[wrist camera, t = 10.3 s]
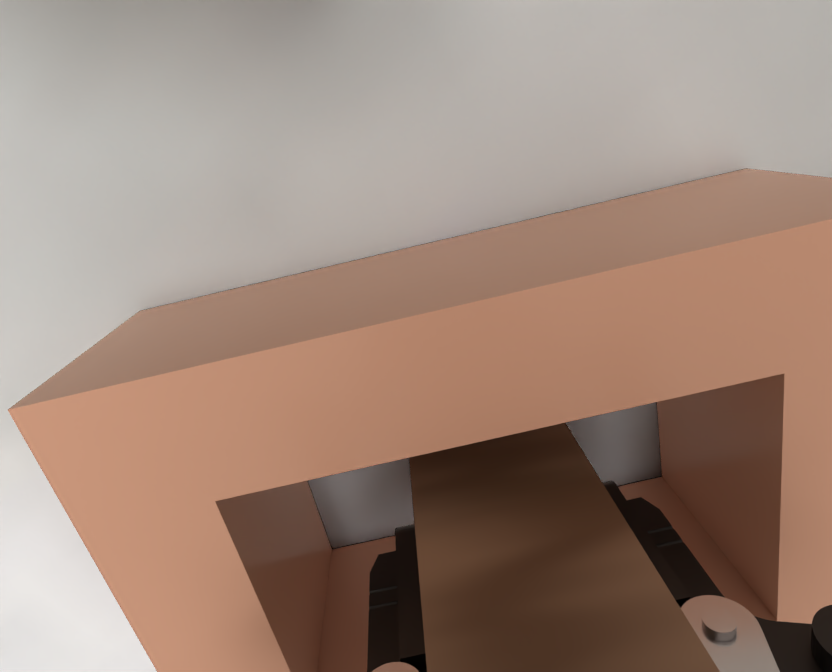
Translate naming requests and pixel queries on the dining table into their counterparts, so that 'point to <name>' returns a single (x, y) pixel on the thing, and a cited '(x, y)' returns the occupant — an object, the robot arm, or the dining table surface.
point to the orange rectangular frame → (454, 409)
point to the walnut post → (537, 566)
